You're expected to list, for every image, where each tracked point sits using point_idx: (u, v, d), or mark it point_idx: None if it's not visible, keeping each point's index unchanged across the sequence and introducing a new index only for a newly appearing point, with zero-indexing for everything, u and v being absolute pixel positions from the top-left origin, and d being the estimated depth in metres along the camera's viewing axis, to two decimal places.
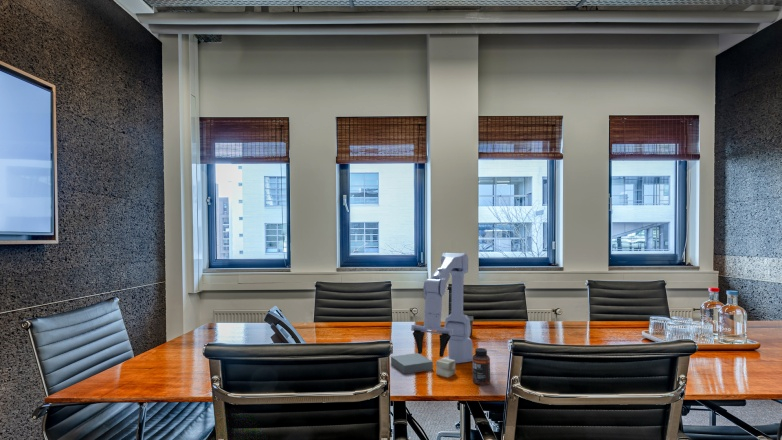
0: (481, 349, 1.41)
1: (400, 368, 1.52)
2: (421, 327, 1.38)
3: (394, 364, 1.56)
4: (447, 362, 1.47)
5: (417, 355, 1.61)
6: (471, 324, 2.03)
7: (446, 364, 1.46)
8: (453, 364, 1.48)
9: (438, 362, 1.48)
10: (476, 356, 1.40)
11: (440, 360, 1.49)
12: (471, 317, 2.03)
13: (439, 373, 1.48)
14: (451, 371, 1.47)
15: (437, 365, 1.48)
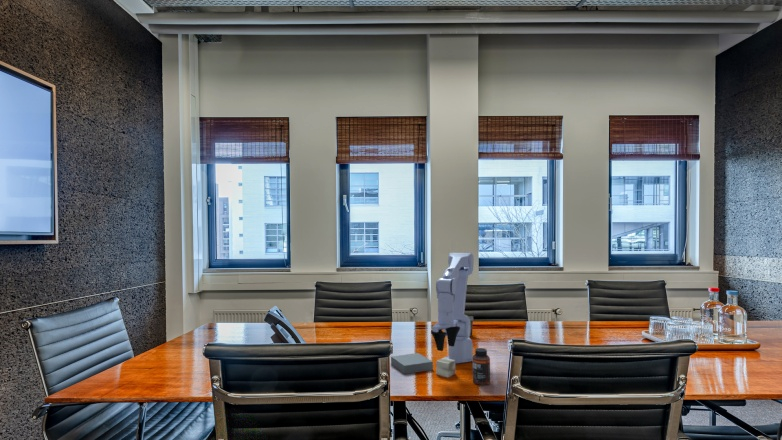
0: (481, 349, 1.41)
1: (400, 368, 1.52)
2: (446, 326, 1.46)
3: (394, 364, 1.56)
4: (447, 362, 1.47)
5: (417, 355, 1.61)
6: (471, 324, 2.03)
7: (446, 364, 1.46)
8: (453, 364, 1.48)
9: (438, 362, 1.48)
10: (476, 356, 1.40)
11: (440, 360, 1.49)
12: (471, 317, 2.03)
13: (439, 373, 1.48)
14: (451, 371, 1.47)
15: (437, 365, 1.48)
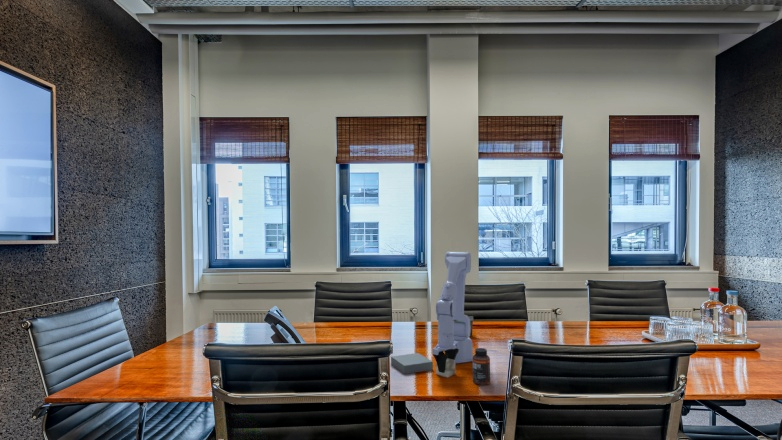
0: (481, 349, 1.41)
1: (400, 368, 1.52)
2: (446, 348, 1.45)
3: (394, 364, 1.56)
4: (447, 362, 1.47)
5: (417, 355, 1.61)
6: (471, 324, 2.03)
7: (446, 364, 1.46)
8: (453, 364, 1.48)
9: None
10: (476, 356, 1.40)
11: None
12: (471, 317, 2.03)
13: (439, 373, 1.48)
14: (451, 371, 1.47)
15: None
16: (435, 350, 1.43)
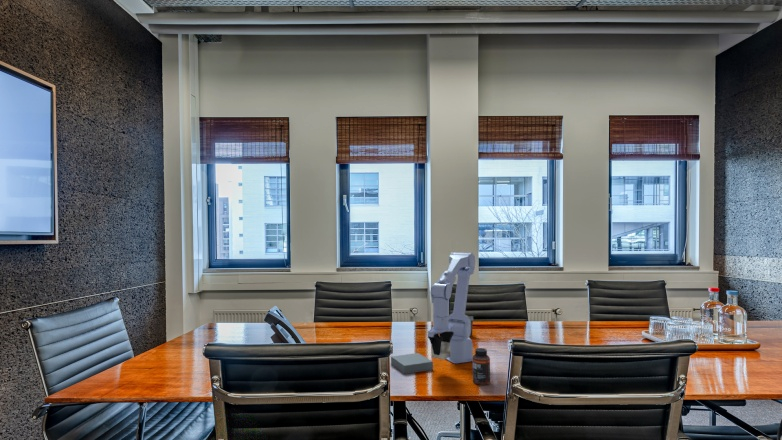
0: (481, 349, 1.41)
1: (400, 368, 1.52)
2: (441, 331, 1.47)
3: (394, 364, 1.56)
4: (442, 344, 1.48)
5: (417, 355, 1.61)
6: (471, 324, 2.03)
7: (441, 346, 1.47)
8: (448, 346, 1.49)
9: None
10: (476, 356, 1.40)
11: None
12: (471, 317, 2.03)
13: (434, 355, 1.49)
14: (446, 354, 1.48)
15: None
16: (430, 332, 1.45)
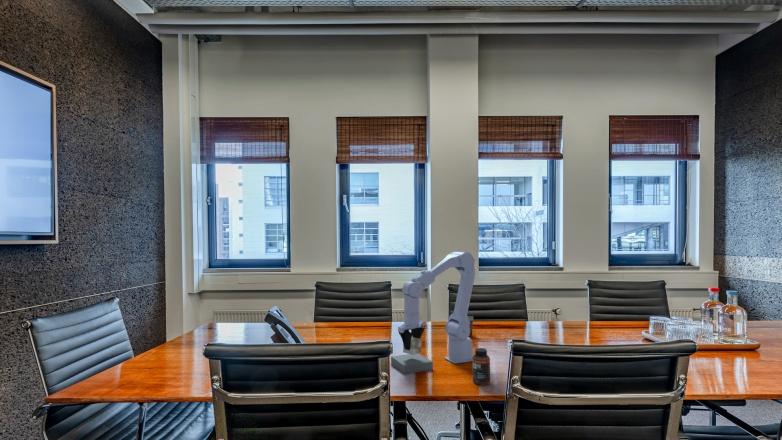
0: (481, 349, 1.41)
1: (400, 368, 1.52)
2: (411, 327, 1.53)
3: (394, 364, 1.56)
4: (413, 340, 1.54)
5: (417, 355, 1.61)
6: (471, 324, 2.03)
7: (412, 342, 1.53)
8: (419, 342, 1.56)
9: None
10: (476, 356, 1.40)
11: None
12: (471, 317, 2.03)
13: (405, 351, 1.55)
14: (417, 349, 1.55)
15: None
16: (400, 328, 1.51)
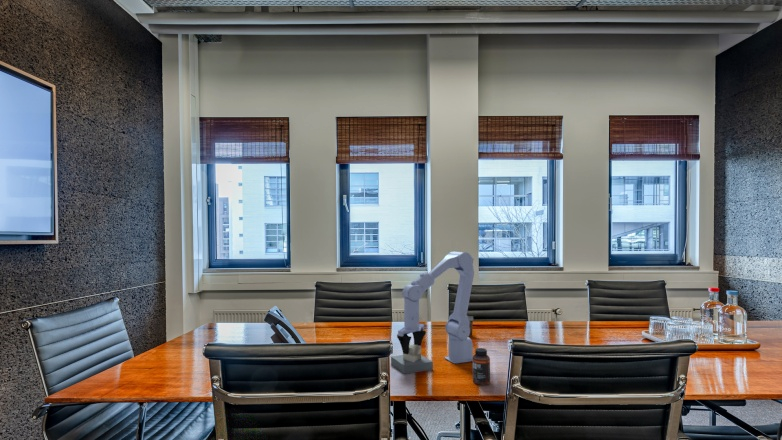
0: (480, 349, 1.41)
1: (400, 368, 1.52)
2: (411, 330, 1.53)
3: (394, 364, 1.56)
4: (413, 347, 1.54)
5: None
6: (471, 324, 2.03)
7: (412, 349, 1.53)
8: (419, 349, 1.56)
9: None
10: (476, 356, 1.40)
11: None
12: (471, 317, 2.03)
13: (405, 358, 1.55)
14: (417, 356, 1.55)
15: None
16: (400, 332, 1.51)
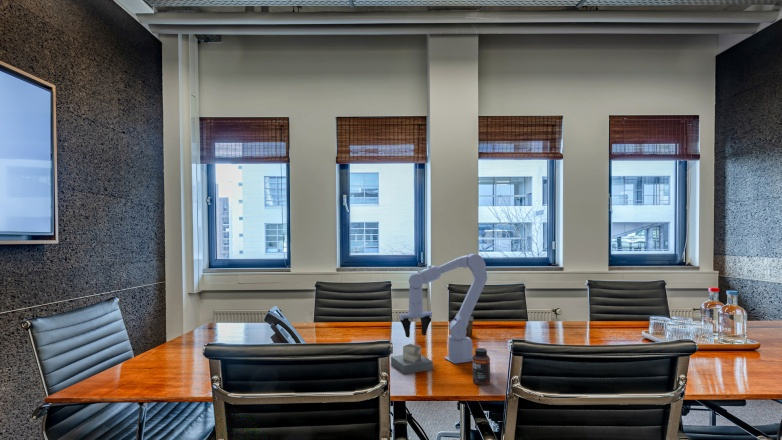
0: (481, 349, 1.41)
1: (400, 368, 1.52)
2: (411, 315, 1.63)
3: (394, 364, 1.56)
4: (413, 347, 1.54)
5: None
6: (471, 324, 2.03)
7: (412, 349, 1.53)
8: (419, 349, 1.56)
9: (404, 347, 1.56)
10: (476, 356, 1.40)
11: (407, 346, 1.57)
12: (471, 317, 2.03)
13: (405, 358, 1.55)
14: (417, 356, 1.55)
15: (404, 350, 1.56)
16: (400, 316, 1.63)
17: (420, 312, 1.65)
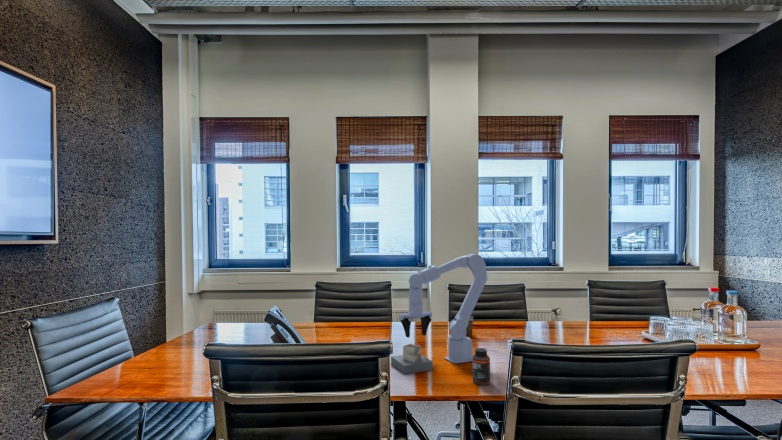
0: (481, 349, 1.41)
1: (400, 368, 1.52)
2: (411, 315, 1.63)
3: (394, 364, 1.56)
4: (413, 347, 1.54)
5: None
6: (471, 324, 2.03)
7: (412, 349, 1.53)
8: (419, 349, 1.56)
9: (404, 347, 1.56)
10: (476, 356, 1.40)
11: (407, 346, 1.57)
12: (471, 317, 2.03)
13: (405, 358, 1.55)
14: (417, 356, 1.55)
15: (404, 350, 1.56)
16: (400, 316, 1.63)
17: (420, 312, 1.65)
